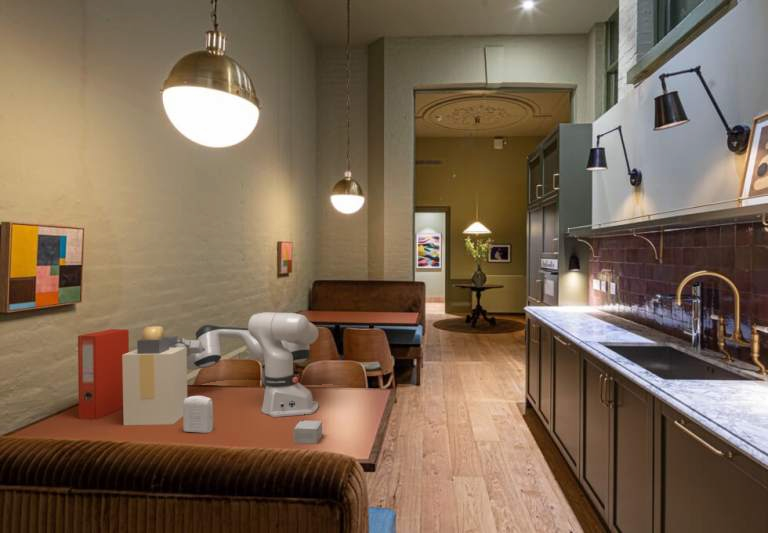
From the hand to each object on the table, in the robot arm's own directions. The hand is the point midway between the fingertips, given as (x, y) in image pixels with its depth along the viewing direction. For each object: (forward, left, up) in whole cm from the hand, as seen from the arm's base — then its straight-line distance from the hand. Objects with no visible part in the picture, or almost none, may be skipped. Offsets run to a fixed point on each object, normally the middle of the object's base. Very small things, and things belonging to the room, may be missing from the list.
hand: (170, 340), depth 186 cm
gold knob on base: (0, +7, -2) cm, 7 cm away
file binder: (+25, +3, -28) cm, 38 cm away
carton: (0, +12, -28) cm, 30 cm away
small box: (-61, +35, -28) cm, 76 cm away
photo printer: (-21, +26, -28) cm, 44 cm away
